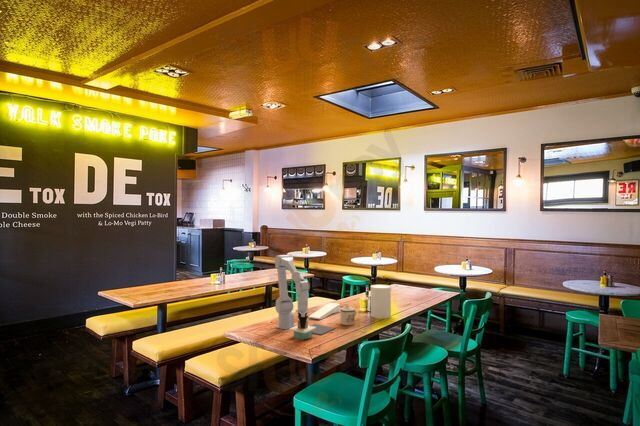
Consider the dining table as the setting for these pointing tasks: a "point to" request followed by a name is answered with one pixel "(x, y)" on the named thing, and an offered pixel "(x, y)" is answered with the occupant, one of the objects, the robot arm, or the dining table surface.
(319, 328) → the mat
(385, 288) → the canister
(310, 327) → the cover
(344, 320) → the teacup with lid
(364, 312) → the dining table surface
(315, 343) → the dining table surface
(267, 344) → the dining table surface
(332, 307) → the white wedge ramp
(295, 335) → the bowl
